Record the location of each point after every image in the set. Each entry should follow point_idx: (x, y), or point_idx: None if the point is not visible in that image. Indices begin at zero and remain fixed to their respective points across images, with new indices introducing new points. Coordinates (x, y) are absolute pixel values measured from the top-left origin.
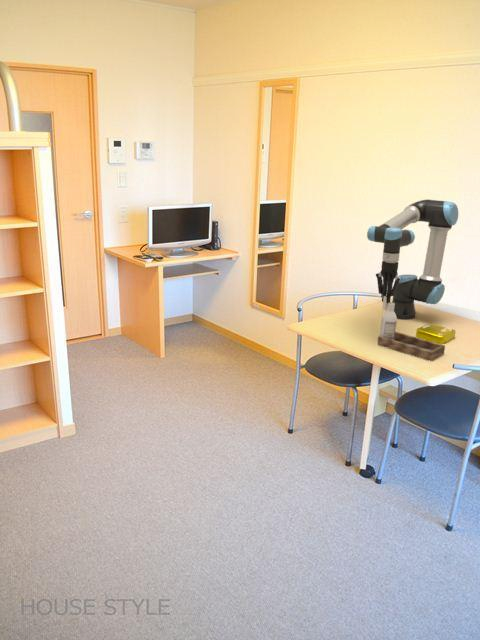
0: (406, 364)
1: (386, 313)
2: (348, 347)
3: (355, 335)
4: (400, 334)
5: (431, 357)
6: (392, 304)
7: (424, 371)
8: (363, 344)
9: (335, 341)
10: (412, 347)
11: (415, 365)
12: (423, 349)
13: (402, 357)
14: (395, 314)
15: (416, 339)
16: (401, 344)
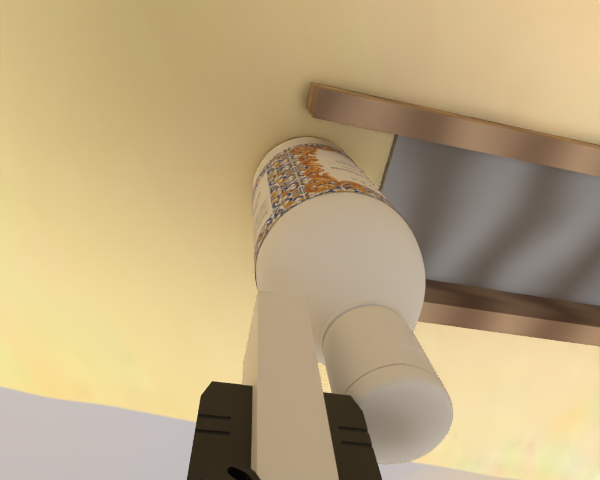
0: (488, 421)
1: (319, 362)
2: (146, 403)
3: (54, 193)
4: (408, 136)
5: None
6: (422, 452)
7: (573, 440)
8: (194, 316)
9: (25, 371)
10: (526, 334)
11: (530, 408)
12: (596, 332)
13: (457, 360)
14: (421, 300)
15: (542, 164)
16: (452, 323)
